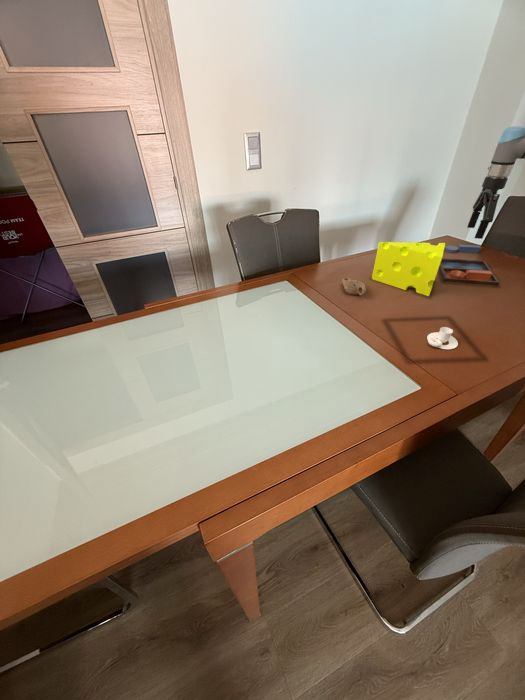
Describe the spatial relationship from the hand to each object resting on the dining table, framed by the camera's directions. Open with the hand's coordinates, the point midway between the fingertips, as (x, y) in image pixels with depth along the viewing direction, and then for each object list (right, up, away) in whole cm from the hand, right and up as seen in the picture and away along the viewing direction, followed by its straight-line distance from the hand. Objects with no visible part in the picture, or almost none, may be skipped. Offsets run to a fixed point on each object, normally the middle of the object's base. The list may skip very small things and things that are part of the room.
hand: (474, 232), depth 130 cm
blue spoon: (-2, -6, +6) cm, 9 cm away
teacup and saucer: (-42, -47, -41) cm, 75 cm away
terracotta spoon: (-13, -23, -15) cm, 30 cm away
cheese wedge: (-36, -26, -16) cm, 47 cm away
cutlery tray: (-12, -21, -11) cm, 26 cm away
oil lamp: (-57, -29, -18) cm, 67 cm away
